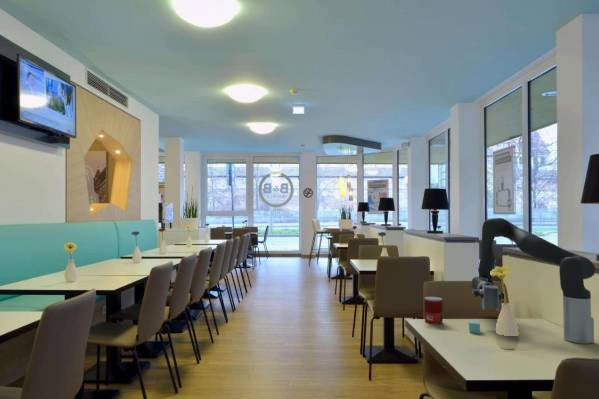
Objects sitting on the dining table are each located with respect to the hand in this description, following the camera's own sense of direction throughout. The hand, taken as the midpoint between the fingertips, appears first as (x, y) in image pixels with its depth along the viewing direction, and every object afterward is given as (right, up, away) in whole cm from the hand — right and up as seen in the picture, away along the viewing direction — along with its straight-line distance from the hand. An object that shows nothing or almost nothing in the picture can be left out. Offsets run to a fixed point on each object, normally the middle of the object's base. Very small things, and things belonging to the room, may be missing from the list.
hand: (491, 296), depth 180 cm
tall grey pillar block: (+1, -6, +2) cm, 6 cm away
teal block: (-9, -14, -5) cm, 17 cm away
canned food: (-22, -15, +11) cm, 28 cm away
